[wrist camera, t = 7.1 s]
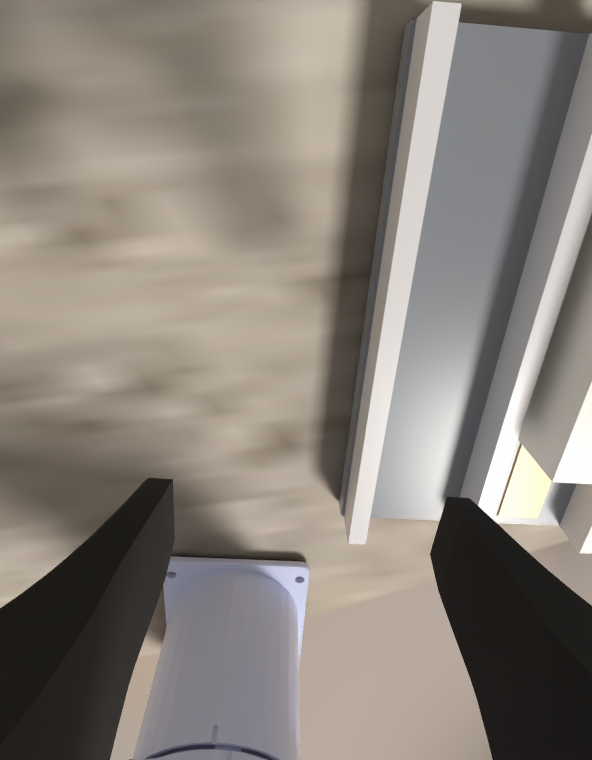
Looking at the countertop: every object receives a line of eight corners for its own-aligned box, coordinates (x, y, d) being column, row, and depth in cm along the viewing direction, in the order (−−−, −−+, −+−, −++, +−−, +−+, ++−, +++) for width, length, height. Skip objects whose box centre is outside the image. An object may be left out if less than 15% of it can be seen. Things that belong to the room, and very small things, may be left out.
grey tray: (667, 517, 25) (710, 558, 22) (339, 502, 24) (344, 543, 21) (909, 70, 16) (1026, 54, 13) (404, 26, 15) (427, 0, 13)
